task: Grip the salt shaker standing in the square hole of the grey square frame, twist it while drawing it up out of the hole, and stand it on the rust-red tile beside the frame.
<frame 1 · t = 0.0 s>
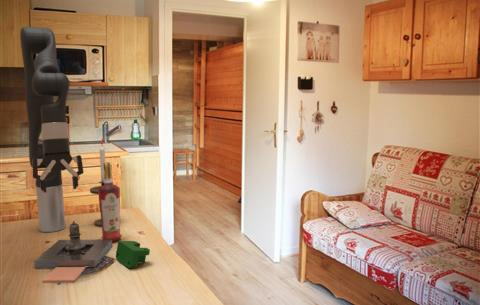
hand: (60, 190, 131), 22 cm above the table, tool pointing down, fingers open, 8 cm apart
candlestick: (106, 223, 171), on the table
grey square frame: (76, 256, 136), on the table
clamp: (133, 262, 132), on the table
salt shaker: (76, 257, 136), resting in grey square frame
tile: (65, 275, 122), on the table
liquor: (111, 240, 151), on the table
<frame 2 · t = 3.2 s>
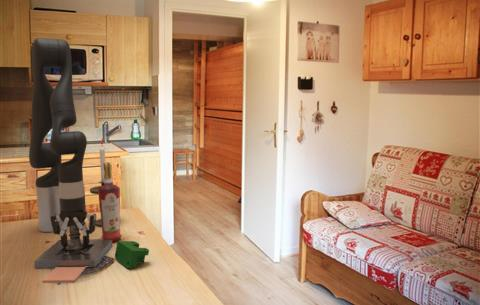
hand: (75, 246, 136), 4 cm above the table, tool pointing down, fingers closed on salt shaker, 6 cm apart
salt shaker: (76, 257, 136), resting in grey square frame, touching gripper
everything else where it was.
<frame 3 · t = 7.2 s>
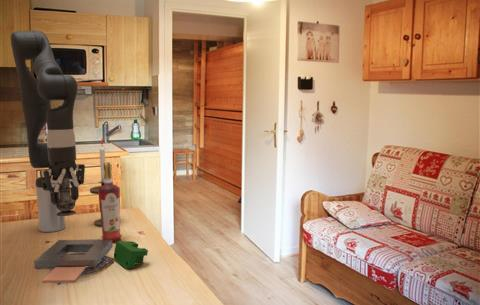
hand: (65, 201, 125), 20 cm above the table, tool pointing down, fingers closed on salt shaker, 6 cm apart
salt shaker: (66, 214, 125), point 17 cm above the table, touching gripper
everything else where it was.
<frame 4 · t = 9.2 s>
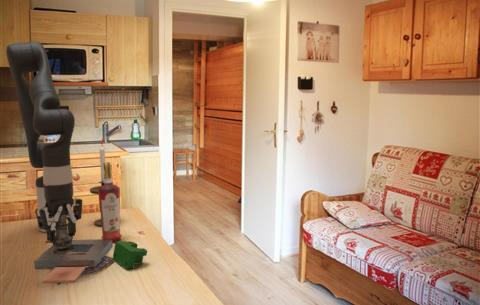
hand: (62, 238, 121), 11 cm above the table, tool pointing down, fingers closed on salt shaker, 6 cm apart
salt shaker: (63, 251, 121), point 7 cm above the table, touching gripper
everything else where it was.
when the fingers open (6 cm above the table, at t = 11.1 s): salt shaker drops 2 cm, resting on tile.
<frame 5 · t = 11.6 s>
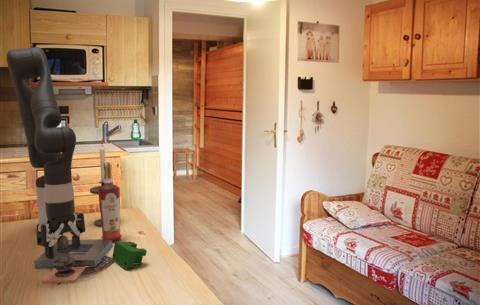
hand: (63, 253, 121), 7 cm above the table, tool pointing down, fingers open, 8 cm apart
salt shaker: (64, 273, 122), resting on tile
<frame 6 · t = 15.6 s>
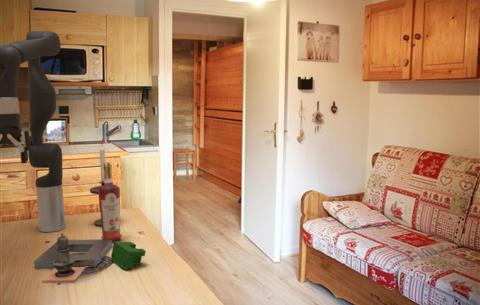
hand: (10, 163, 135), 30 cm above the table, tool pointing down, fingers open, 8 cm apart
at the end: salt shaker inside the target area (0.1 cm from its centre), resting on tile; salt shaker tilted 0°; the gripper is holding nothing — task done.
